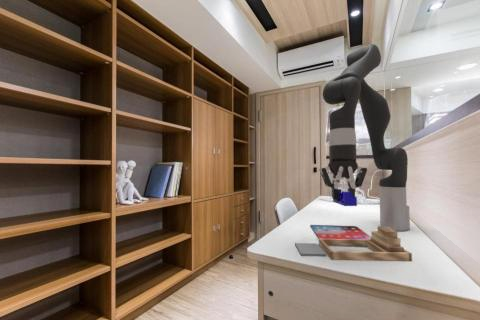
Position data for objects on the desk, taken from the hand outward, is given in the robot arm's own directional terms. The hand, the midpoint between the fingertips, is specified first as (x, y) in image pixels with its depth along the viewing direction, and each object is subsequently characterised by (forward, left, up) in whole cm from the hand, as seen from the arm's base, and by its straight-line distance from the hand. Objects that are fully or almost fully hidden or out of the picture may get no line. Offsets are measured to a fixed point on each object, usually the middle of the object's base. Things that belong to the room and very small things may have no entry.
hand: (343, 200), depth 67 cm
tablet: (-6, -17, -16) cm, 24 cm away
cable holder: (0, 0, -1) cm, 1 cm away
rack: (-5, 0, -15) cm, 16 cm away
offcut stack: (-12, 0, -15) cm, 20 cm away
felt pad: (+10, -1, -15) cm, 18 cm away
